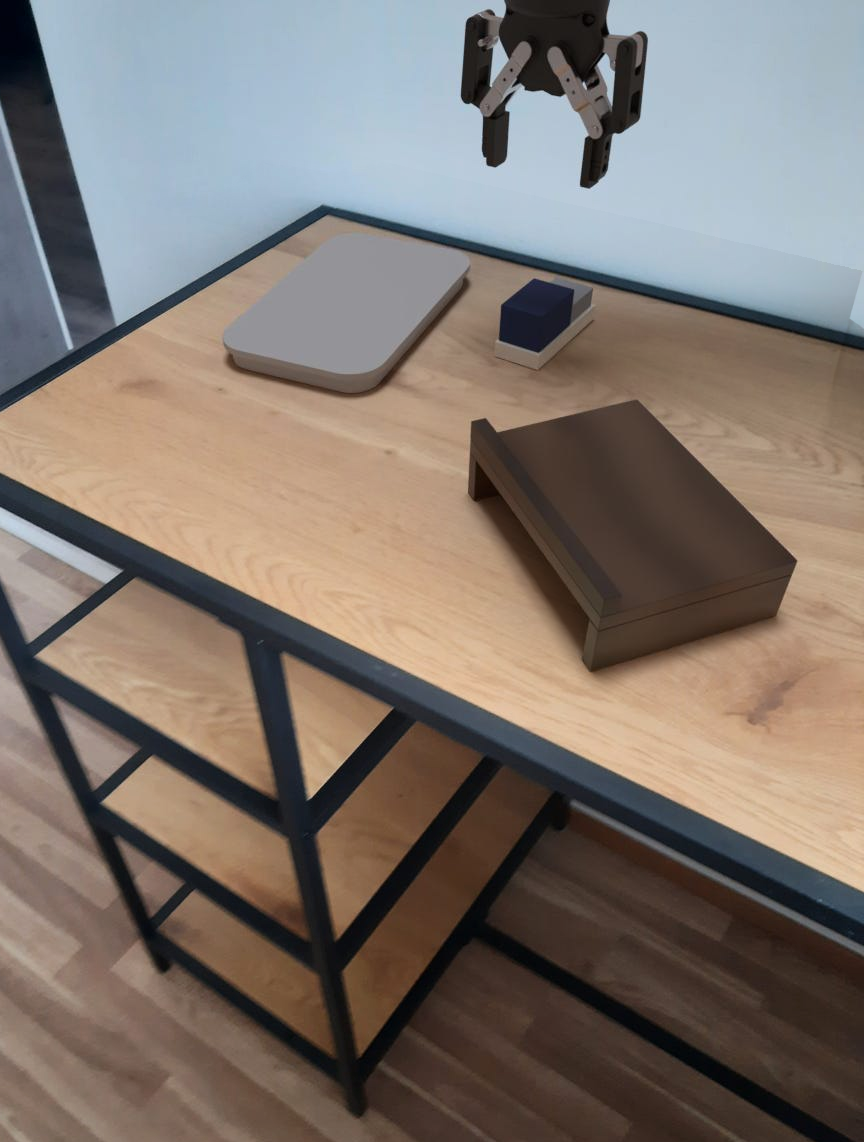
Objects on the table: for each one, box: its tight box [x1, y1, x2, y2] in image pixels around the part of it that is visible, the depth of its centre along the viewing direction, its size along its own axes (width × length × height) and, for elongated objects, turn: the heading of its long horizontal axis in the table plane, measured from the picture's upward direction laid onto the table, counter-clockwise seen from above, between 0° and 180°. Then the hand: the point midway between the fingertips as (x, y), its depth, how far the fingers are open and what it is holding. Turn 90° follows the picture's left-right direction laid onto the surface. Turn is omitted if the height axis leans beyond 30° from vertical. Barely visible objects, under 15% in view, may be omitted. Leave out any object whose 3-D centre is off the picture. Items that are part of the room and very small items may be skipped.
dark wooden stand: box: [467, 398, 798, 672], centre depth 66 cm, size 14×20×6 cm
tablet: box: [221, 232, 471, 394], centre depth 92 cm, size 16×26×2 cm, turn 155°
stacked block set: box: [493, 277, 596, 371], centre depth 87 cm, size 11×5×5 cm, turn 145°
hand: (541, 174), depth 75 cm, fingers open, 8 cm apart
